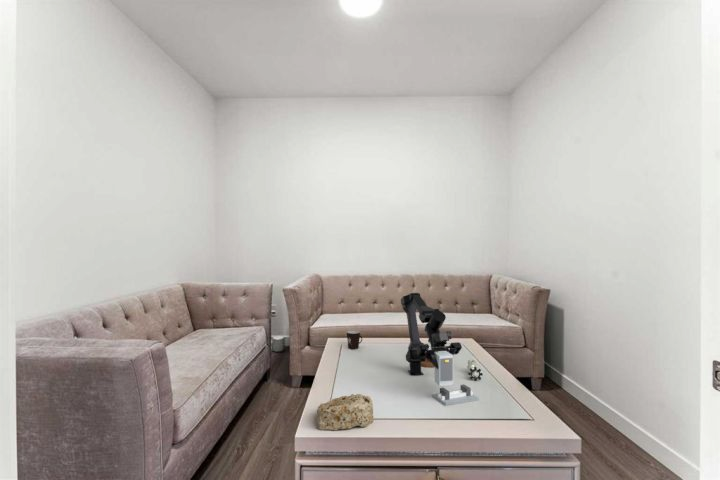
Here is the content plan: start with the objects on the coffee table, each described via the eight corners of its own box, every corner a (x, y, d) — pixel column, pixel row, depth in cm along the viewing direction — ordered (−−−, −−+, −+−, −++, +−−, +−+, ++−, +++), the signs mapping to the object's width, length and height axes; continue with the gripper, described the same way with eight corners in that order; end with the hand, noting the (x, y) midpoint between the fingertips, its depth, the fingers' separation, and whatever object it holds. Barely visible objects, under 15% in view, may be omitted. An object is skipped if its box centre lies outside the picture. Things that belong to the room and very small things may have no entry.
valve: (464, 372, 184) (468, 381, 172) (464, 359, 185) (468, 367, 173) (477, 373, 184) (482, 381, 172) (477, 359, 184) (482, 367, 172)
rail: (445, 406, 145) (445, 395, 145) (432, 396, 154) (432, 386, 154) (478, 400, 150) (478, 389, 150) (463, 391, 160) (463, 381, 160)
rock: (318, 437, 122) (315, 405, 125) (318, 427, 136) (315, 399, 139) (378, 426, 125) (373, 395, 128) (372, 417, 139) (368, 390, 142)
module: (434, 381, 152) (434, 352, 153) (447, 380, 154) (447, 351, 154) (440, 386, 147) (440, 356, 147) (453, 385, 148) (453, 355, 148)
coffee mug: (345, 346, 232) (345, 331, 233) (357, 345, 235) (357, 330, 235) (349, 351, 221) (349, 335, 222) (363, 350, 224) (363, 334, 224)
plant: (449, 358, 210) (449, 338, 210) (454, 369, 190) (454, 347, 190) (414, 357, 212) (414, 337, 212) (415, 367, 192) (415, 346, 193)
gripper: (418, 325, 153) (429, 359, 142) (459, 323, 157) (473, 356, 146) (412, 339, 161) (421, 373, 150) (451, 337, 165) (463, 370, 154)
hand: (445, 368), depth 150 cm, fingers closed on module, 6 cm apart
